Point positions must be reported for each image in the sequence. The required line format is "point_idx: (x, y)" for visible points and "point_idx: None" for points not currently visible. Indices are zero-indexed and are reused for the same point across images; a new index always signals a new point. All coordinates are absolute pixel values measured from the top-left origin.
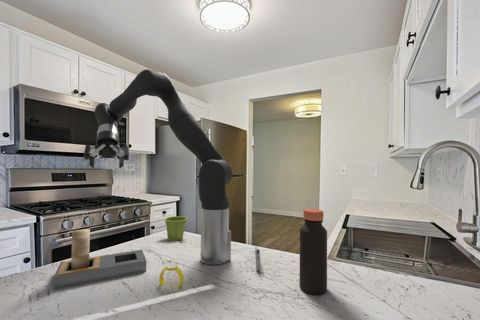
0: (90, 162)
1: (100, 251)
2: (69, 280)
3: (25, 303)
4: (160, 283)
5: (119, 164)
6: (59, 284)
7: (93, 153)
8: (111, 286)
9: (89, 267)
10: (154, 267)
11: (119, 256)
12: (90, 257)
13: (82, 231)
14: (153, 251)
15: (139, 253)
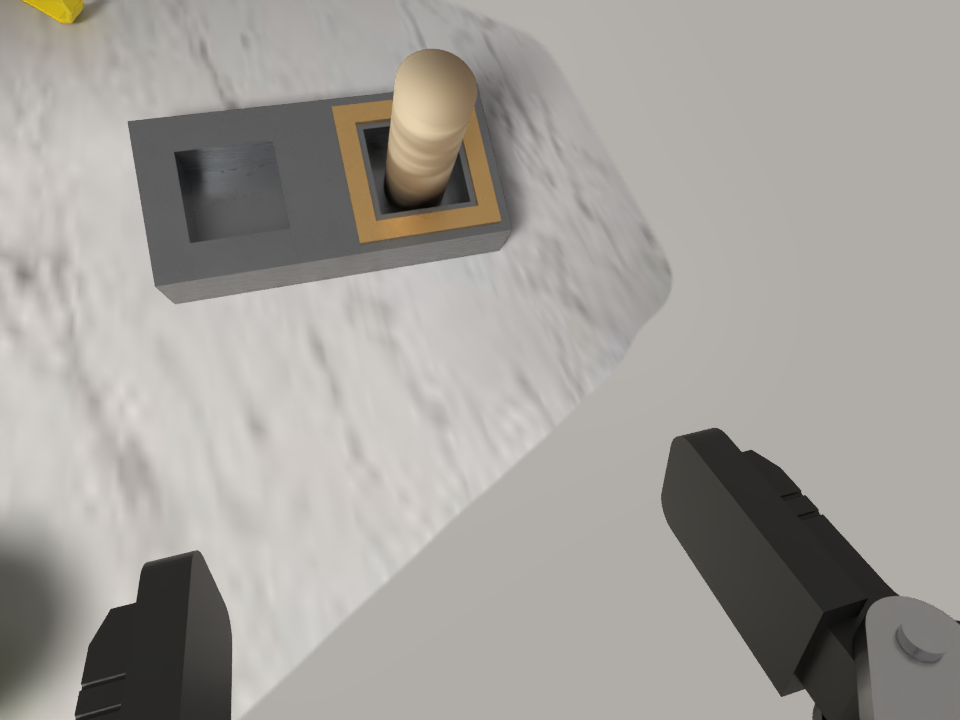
0: (761, 468)
1: (419, 530)
2: None
3: (522, 84)
4: (83, 3)
5: (199, 562)
6: None
7: (947, 716)
8: (281, 102)
9: (370, 117)
10: (109, 220)
11: (268, 232)
12: (399, 235)
13: (426, 76)
14: (109, 451)
15: (166, 228)
